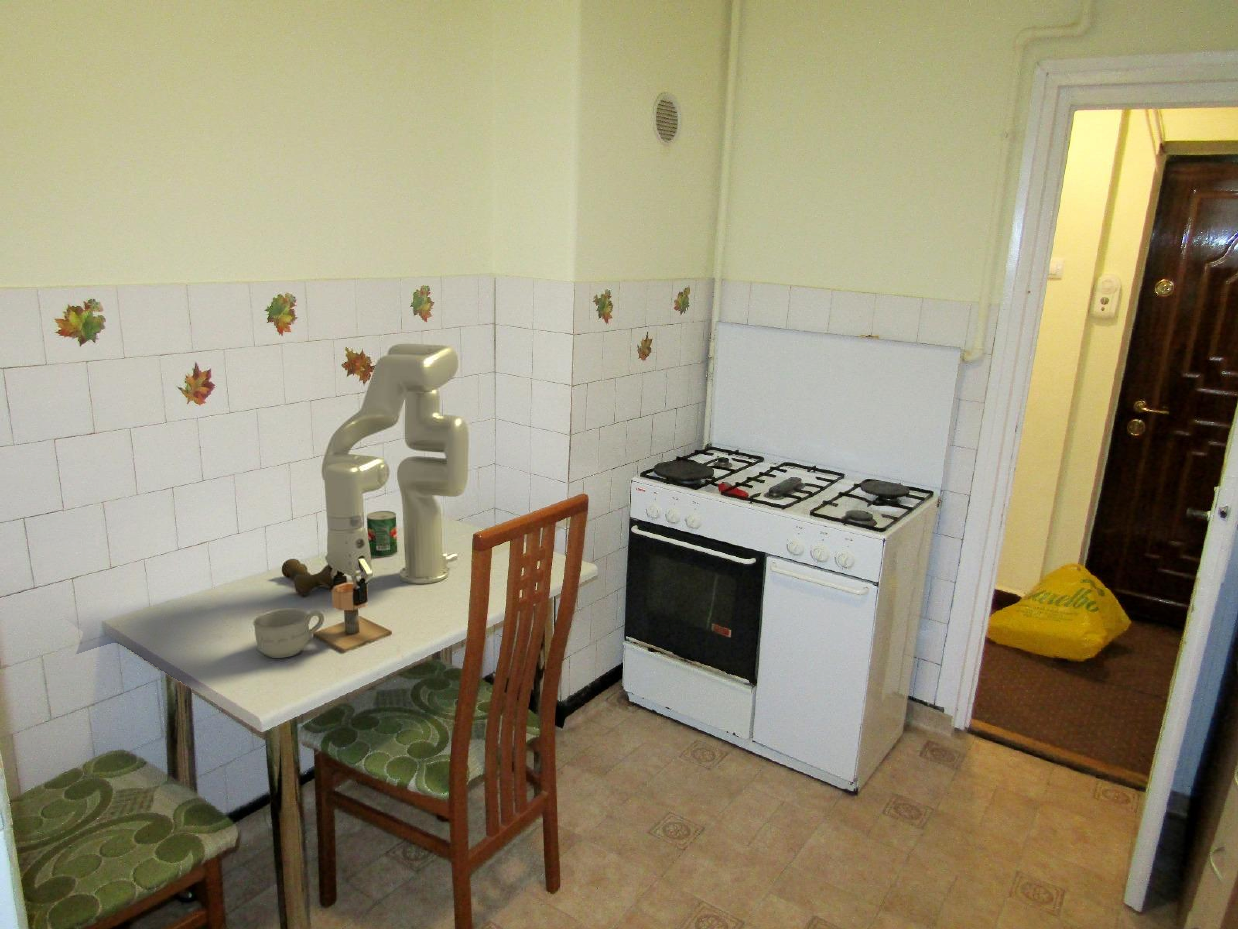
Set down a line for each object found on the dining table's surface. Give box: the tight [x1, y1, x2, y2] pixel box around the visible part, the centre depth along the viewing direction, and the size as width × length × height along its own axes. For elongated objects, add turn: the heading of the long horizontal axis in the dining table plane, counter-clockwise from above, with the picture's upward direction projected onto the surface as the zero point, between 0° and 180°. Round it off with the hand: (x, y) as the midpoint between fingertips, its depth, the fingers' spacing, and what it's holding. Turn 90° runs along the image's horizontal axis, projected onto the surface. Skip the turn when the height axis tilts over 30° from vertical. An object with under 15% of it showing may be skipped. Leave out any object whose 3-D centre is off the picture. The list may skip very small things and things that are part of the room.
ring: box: [331, 581, 369, 611], centre depth 192 cm, size 7×7×4 cm
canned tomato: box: [366, 510, 399, 558], centre depth 244 cm, size 8×8×11 cm
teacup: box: [252, 608, 325, 659], centre depth 186 cm, size 14×11×8 cm
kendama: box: [281, 558, 333, 598], centre depth 220 cm, size 6×10×20 cm
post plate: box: [312, 609, 393, 654], centre depth 194 cm, size 12×12×6 cm
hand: (350, 598), depth 192 cm, fingers closed on ring, 6 cm apart
